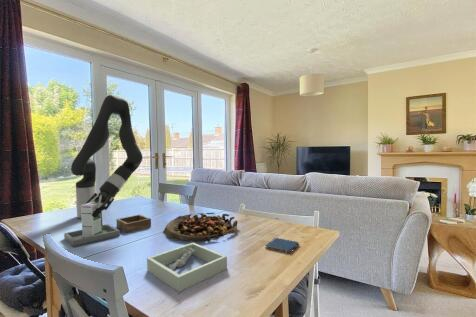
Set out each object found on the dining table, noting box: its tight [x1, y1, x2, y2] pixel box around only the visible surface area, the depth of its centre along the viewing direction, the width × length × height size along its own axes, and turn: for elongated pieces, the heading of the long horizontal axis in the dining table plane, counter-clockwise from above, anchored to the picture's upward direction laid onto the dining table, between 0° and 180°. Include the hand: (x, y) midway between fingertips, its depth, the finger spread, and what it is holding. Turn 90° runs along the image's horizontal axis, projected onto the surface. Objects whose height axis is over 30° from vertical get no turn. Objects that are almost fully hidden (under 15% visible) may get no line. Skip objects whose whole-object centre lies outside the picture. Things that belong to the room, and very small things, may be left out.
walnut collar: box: [116, 214, 152, 233], centre depth 128 cm, size 12×12×4 cm
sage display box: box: [146, 242, 228, 293], centre depth 82 cm, size 18×18×4 cm
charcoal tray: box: [63, 223, 121, 248], centre depth 113 cm, size 14×18×2 cm
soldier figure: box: [168, 248, 195, 271], centre depth 85 cm, size 8×5×12 cm
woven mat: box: [264, 237, 300, 254], centre depth 100 cm, size 10×11×2 cm
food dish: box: [162, 212, 238, 242], centre depth 122 cm, size 35×33×8 cm
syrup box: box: [80, 202, 103, 238], centre depth 113 cm, size 6×6×14 cm
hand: (88, 215), depth 112 cm, fingers open, 8 cm apart
